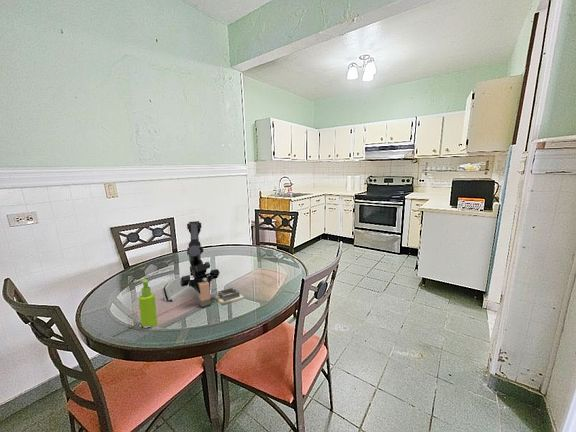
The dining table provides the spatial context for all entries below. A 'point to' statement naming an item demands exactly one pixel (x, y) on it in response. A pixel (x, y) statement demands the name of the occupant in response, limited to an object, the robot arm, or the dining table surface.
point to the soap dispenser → (147, 305)
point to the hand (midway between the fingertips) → (204, 292)
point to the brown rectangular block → (204, 293)
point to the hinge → (174, 290)
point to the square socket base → (228, 296)
